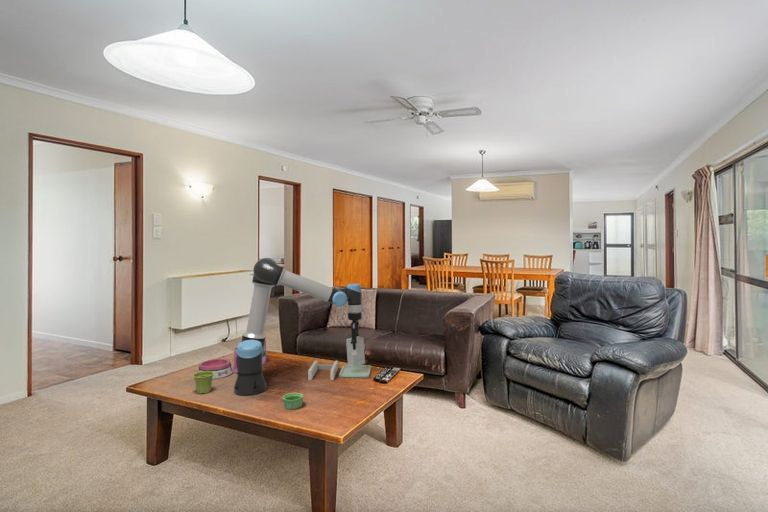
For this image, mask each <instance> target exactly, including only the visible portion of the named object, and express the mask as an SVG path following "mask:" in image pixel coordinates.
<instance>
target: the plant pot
mask: <svg viewBox="0 0 768 512" xmlns="http://www.w3.org/2000/svg"><path fill="white" fill-rule="evenodd" d="M213 375H214V372H212V371H203V372H198V371H197V372H195V373H194V374H192V377H193V378H194V382H195V388H196V392H197V394H199V395H201V394H207V393H210V392H211V391H212V382H213V380H212V377H213Z"/></svg>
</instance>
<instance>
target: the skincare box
mask: <svg viewBox="0 0 768 512" xmlns="http://www.w3.org/2000/svg"><path fill="white" fill-rule="evenodd" d="M345 341H346V342H345V343H346V344H345V345H346V357H347V358H346V359H347V365H349V366H352V367H355V366H358V365H364V364H365V365H366V357H365V342H364V341H365V340H364V337H363V336H360V335H359V336H357V355H352V344H351V343H350V342H351V341H352V337H349V338H345Z"/></svg>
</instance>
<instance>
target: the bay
mask: <svg viewBox="0 0 768 512" xmlns="http://www.w3.org/2000/svg"><path fill="white" fill-rule="evenodd" d="M339 367H340V365H339V360H334V362H333V364H326V363H325V364H322V363H321V364H319V363H318V360H314V361H313V362H312V364H311V365H310V367H309V369H308V370H307V374H308V375H307V377H308V378H307V380H308V381H312V380H313V379H314V377H315V375H316V373H317V371H318V370H321V371H322V370H330V373H329V375H330V376H329V377H330V381H335V377H336V375H337V374H338V371H339ZM313 376H314V377H313Z"/></svg>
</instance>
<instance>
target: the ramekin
mask: <svg viewBox="0 0 768 512" xmlns="http://www.w3.org/2000/svg"><path fill="white" fill-rule="evenodd" d="M303 398H304V395H303V393H301V392H290V393H286V394H284V395H283V396H282V402H283V407H284V409H286V410H298V409H299V408H301V407H302V406H303V401H304V400H303Z"/></svg>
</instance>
